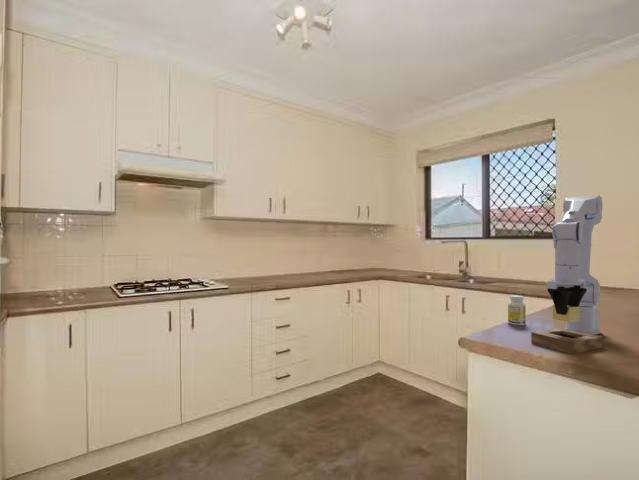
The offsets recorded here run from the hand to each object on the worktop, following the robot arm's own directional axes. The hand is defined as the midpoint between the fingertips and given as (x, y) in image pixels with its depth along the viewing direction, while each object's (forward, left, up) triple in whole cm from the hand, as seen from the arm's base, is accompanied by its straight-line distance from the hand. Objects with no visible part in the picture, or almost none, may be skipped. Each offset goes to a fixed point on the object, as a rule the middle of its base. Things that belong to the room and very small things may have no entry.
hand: (566, 313), depth 100 cm
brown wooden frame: (0, 0, -9) cm, 9 cm away
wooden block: (0, 0, -2) cm, 2 cm away
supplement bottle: (-11, -23, -9) cm, 27 cm away
